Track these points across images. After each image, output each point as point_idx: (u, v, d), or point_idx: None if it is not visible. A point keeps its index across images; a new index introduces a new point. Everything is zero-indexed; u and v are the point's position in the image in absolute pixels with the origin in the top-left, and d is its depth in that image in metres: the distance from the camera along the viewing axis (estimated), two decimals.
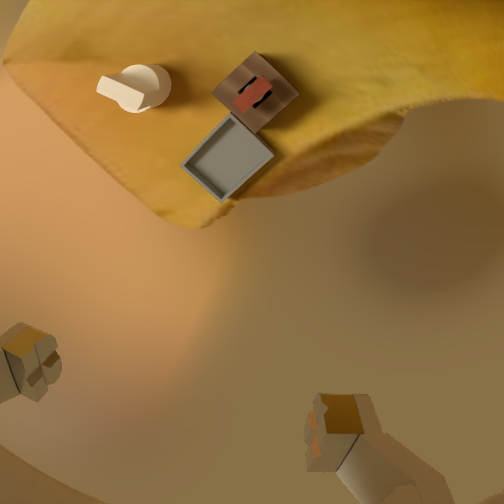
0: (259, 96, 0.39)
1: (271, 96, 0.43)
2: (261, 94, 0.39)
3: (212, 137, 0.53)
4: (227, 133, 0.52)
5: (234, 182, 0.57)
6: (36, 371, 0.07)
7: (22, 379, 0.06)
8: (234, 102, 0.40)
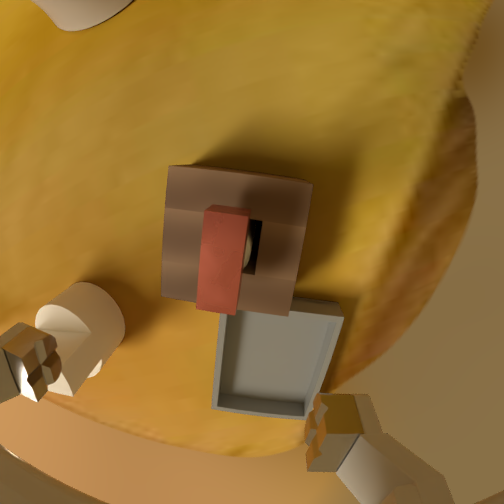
0: (238, 259, 0.17)
1: (265, 229, 0.21)
2: (238, 252, 0.17)
3: (228, 345, 0.30)
4: (245, 327, 0.29)
5: (307, 381, 0.31)
6: (35, 371, 0.07)
7: (22, 379, 0.06)
8: (200, 305, 0.18)
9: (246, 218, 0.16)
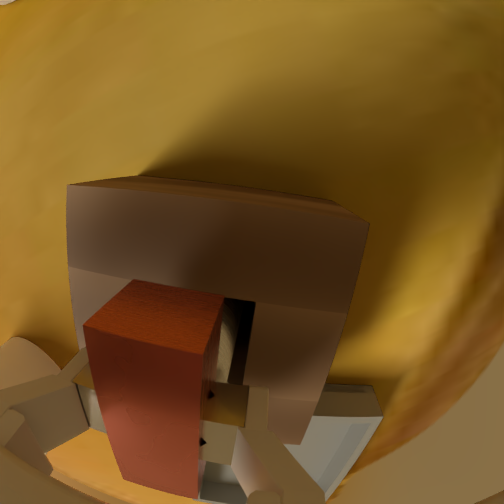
0: (188, 437, 0.06)
1: (262, 319, 0.10)
2: (187, 425, 0.05)
3: None
4: None
5: (320, 472, 0.19)
6: None
7: (97, 413, 0.06)
8: (129, 477, 0.06)
9: (197, 359, 0.05)
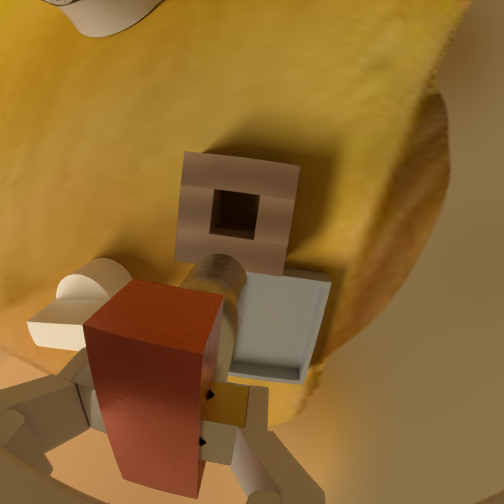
0: (187, 436, 0.06)
1: (262, 202, 0.25)
2: (186, 425, 0.05)
3: None
4: (246, 294, 0.34)
5: (302, 347, 0.35)
6: None
7: (97, 413, 0.06)
8: (129, 477, 0.06)
9: (197, 359, 0.05)
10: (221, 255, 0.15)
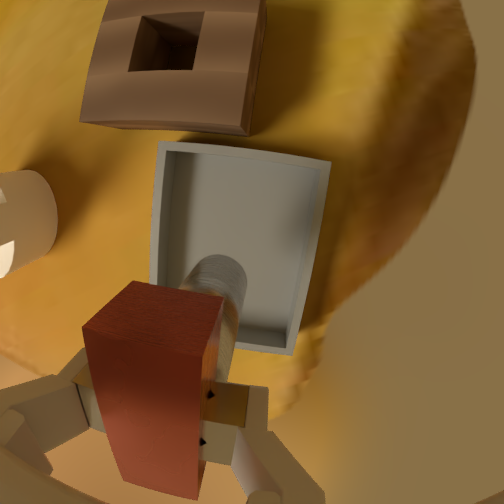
0: (187, 439, 0.06)
1: (208, 19, 0.13)
2: (186, 427, 0.05)
3: (173, 228, 0.22)
4: (195, 196, 0.21)
5: (289, 292, 0.22)
6: None
7: (97, 413, 0.06)
8: (129, 479, 0.06)
9: (197, 362, 0.05)
10: (221, 256, 0.15)
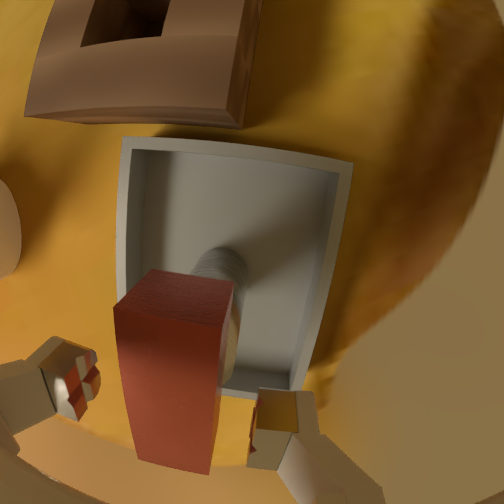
0: (204, 408, 0.07)
1: None
2: (204, 397, 0.06)
3: (147, 248, 0.17)
4: (173, 207, 0.16)
5: (294, 329, 0.17)
6: (76, 389, 0.07)
7: (61, 398, 0.06)
8: (144, 457, 0.07)
9: (217, 333, 0.06)
10: (224, 249, 0.16)
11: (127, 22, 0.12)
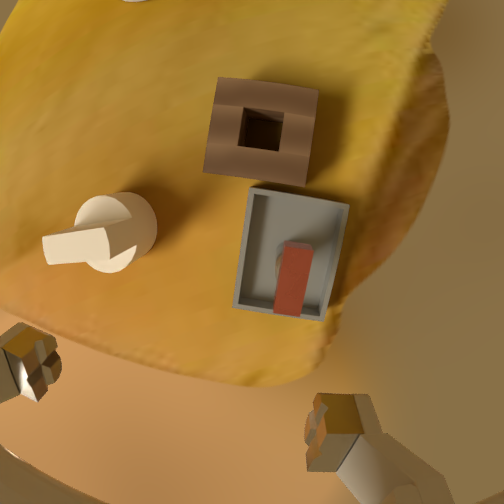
0: (305, 278, 0.25)
1: (286, 118, 0.27)
2: (306, 274, 0.25)
3: (251, 240, 0.35)
4: (267, 221, 0.35)
5: (321, 282, 0.36)
6: (36, 371, 0.07)
7: (22, 379, 0.06)
8: (276, 310, 0.26)
9: (312, 252, 0.24)
10: None
11: (245, 124, 0.30)
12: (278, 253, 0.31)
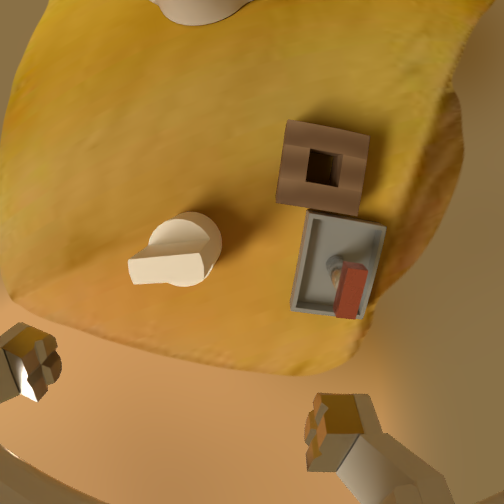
0: (361, 291, 0.32)
1: (344, 160, 0.33)
2: (362, 287, 0.32)
3: (306, 255, 0.42)
4: (319, 239, 0.41)
5: None
6: (36, 371, 0.07)
7: (22, 379, 0.06)
8: (338, 315, 0.33)
9: (367, 271, 0.31)
10: (338, 255, 0.41)
11: None
12: (332, 267, 0.38)
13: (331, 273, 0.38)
